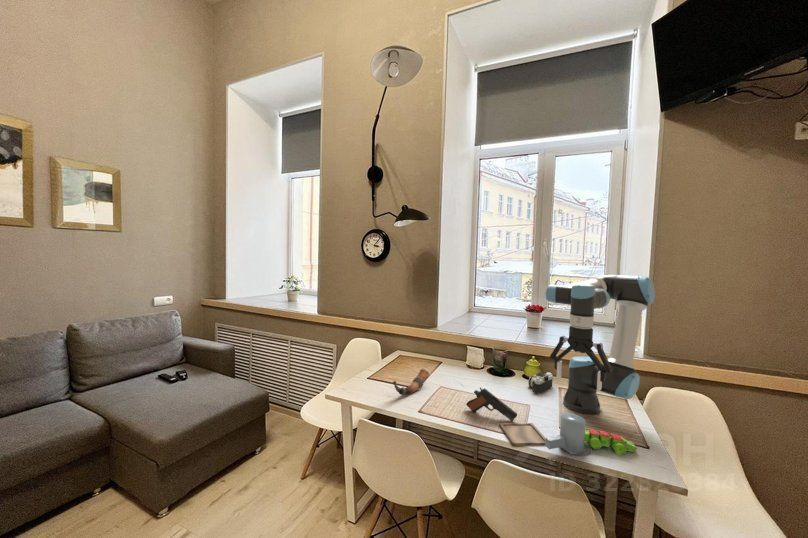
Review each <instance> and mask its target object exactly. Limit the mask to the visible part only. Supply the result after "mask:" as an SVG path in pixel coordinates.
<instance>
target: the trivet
mask: <svg viewBox="0 0 808 538" xmlns="http://www.w3.org/2000/svg"><path fill="white" fill-rule="evenodd" d="M560 448H561V449H563V448H562V447H560ZM584 449H585V452H582V453H577V454H575V455H576V456H589V455H591V454H592V451H593V449H592V447H591V445H590V443H588V442H585V444H584ZM563 450H564V451H566V450H565V449H563Z"/></svg>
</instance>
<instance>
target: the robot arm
mask: <svg viewBox="0 0 808 538" xmlns="http://www.w3.org/2000/svg"><path fill="white" fill-rule="evenodd" d="M655 298H656V290H655V283H654V281H653V280H652V278H650V277H648V276H640V275H624V274H621V275H620V274H619V275H618V274H608V275H607V274H605V275H600V276H595V277H591V278H589V279H587V280H585V281H580V282H574V283H569V284H563V285H560V284H559V285H558V284H549V285H548V286H547V287H546V290H545V299H546V301H548V303H549V302H550V303H554V304H558V305H559V304H560V305H567V306H570V310H569V311H570V312H569V313H570V314H569V330H568V333H569V334H568V337H566V336H565V335H561V336H559V340H558V343H557V344H556V346H555V347H554V348H553V350H552V352H551V353H550V355H549V358H550V359H552V360H553V361H554V369H555V370H556V380H560V379H561V378H562V372H563V371H562V370H563V360H561V359H563V358H564V357H565V356H566V355H567V354H569V353H570V352H571V351H573V352H574V353H575V352H576V353H581V354H586V355H587V356H582V355H581V356H573V357H571V358H570V360H569V365H568V380H567V381H568V383H567V385H568V386H567V389H566V391H565V394H564V396H563V400H562V401H563V402H562V403H563V405H564V406H565V407H566V408H567V409H569V410H571V411H575V412H577V413H581V414H586V415H597V414H599V413H600V412H601V404H600V401H599V397H598V392H601V393H605V394H607V395H611V396H614V397H616V398H621V399H623V400H631V399H632V398H633V397H634V396H635V395H636V394H637V391H638V390H639V386H640V380H641V376H640V375H639V373H637V369H636V367H635V366H634V364H633V363H634V357H635V352H636V346H637V342H638V335H639V332H640V331H639V329H640V326H641V321H642V320H641V319H642V315H643V311H645V310H646V309H648V306H649V305H651V304H654V302H655ZM610 300H615V303H616V304H617V306H618V311H617V316H616V320H615V321H616V322H615V326H614V331H613V337H612V342H611V346H610V351H609V357H607V356H606V352H605V350H604V346H603V343H602V342H599V343H597V342H594V341H593V335H594V329H593V328H594V320H595V319H594V317H595V316H594V315H595V310H596V309H602V308H604V307H606V306H608V305H609V303H610ZM565 343H568V345H569V346H568V347H566V348H565V350H564V351H562V352H561V353H560V354H559V351H561V348H562V347H563V345H564V344H565ZM593 347H594V349H595V350H597V354H598V357H597V355H596V353H594V350H593V349H592V348H593ZM557 354H559V355H557ZM599 357H600V359H599Z"/></svg>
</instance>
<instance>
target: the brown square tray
mask: <svg viewBox="0 0 808 538" xmlns="http://www.w3.org/2000/svg"><path fill="white" fill-rule="evenodd" d="M498 426H499V427H500V429H501V431H503V433H504V435H505V436H506V438H507V439H508V441H509V442H510V444H511V446H513V447H514V446H515V447H517V446H519V447H520V446H522V447H523V446H545V441H546V438H547V437H545V436H544V434H543V433H542V432H540V430H539V429H538V427H536V426H535V424H534V423H533V422H499V424H498Z"/></svg>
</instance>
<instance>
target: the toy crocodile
mask: <svg viewBox="0 0 808 538" xmlns="http://www.w3.org/2000/svg"><path fill="white" fill-rule="evenodd" d="M585 442H586V443H588V444H589V445H590V447H591V448H593V449H594V450H600V449H601V448H602V446H603V447H607V448H609V447H611V448H612V449H613V451H614V452H615V454H617V455H625V454H626V452H627V451H628V452H631V453H632V452H636V451H638V447H637V445H635V444H634V443H633V442H632V441H631V440H630V441H629V440H627V439H625V438H624V437H623V436H622V435H619V434H615V433H612V432H611V433H608V432H607V431H603V430H599V431H597V430H596V429H589V430H588V429H587V430H585Z"/></svg>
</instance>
